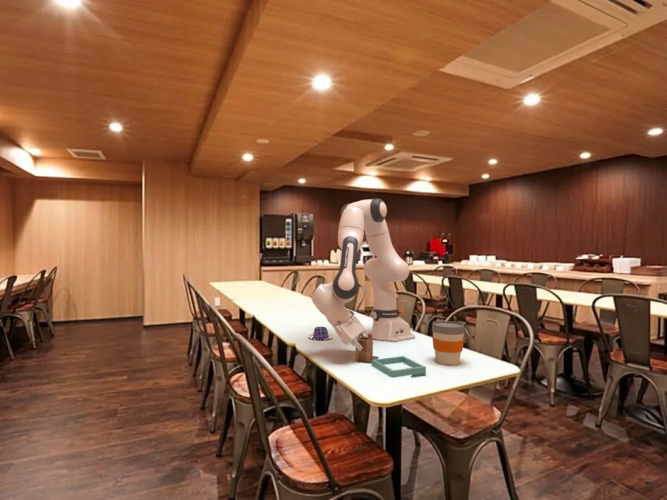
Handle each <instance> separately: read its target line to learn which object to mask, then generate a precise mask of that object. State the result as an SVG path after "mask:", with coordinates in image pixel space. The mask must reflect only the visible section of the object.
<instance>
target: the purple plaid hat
mask: <svg viewBox="0 0 667 500" xmlns="http://www.w3.org/2000/svg"><path fill="white" fill-rule="evenodd" d="M312 336H313V337H312ZM311 337H312V338H314V339H312V338H311ZM329 337H330V339H329ZM308 338H309V339H311V340H315V341H317V339H318V340H319V339H320V340H319V341H322V340H321V339H323V340H325V341H326V340H328V339H329V340H331V339H333V338H334V337H333V335H330V334H329V332H328V328H327V327H325V326H316V327H315V328H314V329H313V333H312V334H310V335H308ZM327 338H328V339H327Z"/></svg>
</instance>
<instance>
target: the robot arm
mask: <svg viewBox="0 0 667 500" xmlns="http://www.w3.org/2000/svg"><path fill="white" fill-rule="evenodd" d="M339 215H340V219H339V220H340V221H339V224H338V232H337V244H338V247H339V248H340V251H341V253H340V263H339V269H338V271H337V274H336V275H335V277H334V279H333V282H328V283H320V284H318V286H316V288H315V289H314V290H313V292H312V293H311V296H310V297H311V298H310V299H311V302H312V303H313V305H314V306H315V307H316V309H317V310H318V312H320V314H322V315H323V316H325V319H326V321H328V323H329V324H330V325H331V326H332V328H333V329H334V330H335V333H336V335H337V336H338V338H339V339H340V340H341V342H342V343H344V345H346V346H348V345H349V344H351V345H352V346H353V347H355V349H356V348H357V349H358V350H359V351H360V350H361V349H363V346H362V345H361V344H359V343H358V342H357V340H356V339H357V338H358V337H359V336H361V337H367V336H366V334H365V333H364V331H366V329H365V327H364V325H363V324H362V322H361V321H360V320H359V319H358V318H357V316H355V313H354V311H352V310H350V309H348V308H346V306H345V304H347V303H349V302H351V301H353V299H354V298H355V296H356V294H357V293H358V292H359V289H360V284H359V279H358V277H357V272H356V271H357V259H358V253H359V250H360V249H361V247H362V245H363V241H364V234H365V237H366V242H367V245H368V249H369V251H370V252H371V253H372V254H373V255H374V256H375V258H374V257H373V258H371V259H367V260H366V261H365V262H364V265H363V273H364V275H365V276H366V277H367V279H368V280H369V282H370V283H371V284H370V285H371V287H372V291H373V307H372V327H371V332H370V333H371V334H372V338H373V340H378V341H387V342H398V341H399V342H400V341H405V340H412V339H415V338H416V335H415V334H414V333H412V332H411V326H410V324H409V323H408V322H406V321H405V320H404V319H403V318H402V317H401V316H400V315H403V314H404V310H403V309H398V308H397V298H398V297H397V292H396V291H395V289H393V288H392V286H391V284H390V282H391V283H393V282H394V283H397V282H403V281H405V280H407V279H408V276H409V275H410V267H409V265H408V263H407V262H406V261H404V259H402V258H401V257H400V256H399V255H398V253H397V251H396V250H395V248H394V246H393V243H392V239H391V235H390V231H389V228H388V224H387V221H386V217H387V215H388V207H387V204H386V202H385V201H383V199H380V198H372V199H361V200H358V201H355V202H352V203H347V204H344V205H343V206H342V207H341V210H340V213H339Z"/></svg>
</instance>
